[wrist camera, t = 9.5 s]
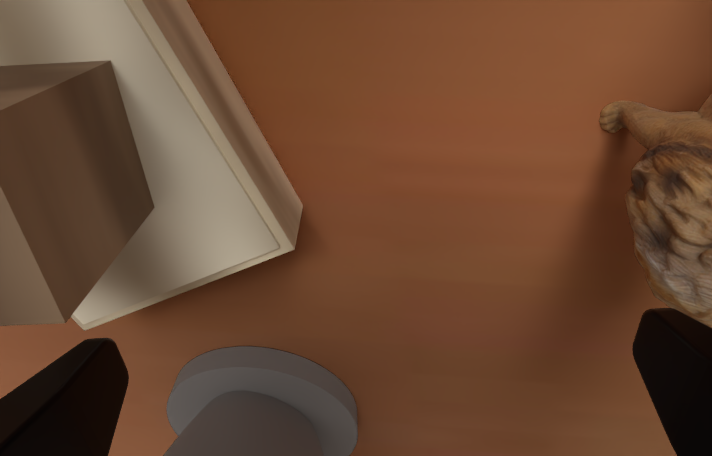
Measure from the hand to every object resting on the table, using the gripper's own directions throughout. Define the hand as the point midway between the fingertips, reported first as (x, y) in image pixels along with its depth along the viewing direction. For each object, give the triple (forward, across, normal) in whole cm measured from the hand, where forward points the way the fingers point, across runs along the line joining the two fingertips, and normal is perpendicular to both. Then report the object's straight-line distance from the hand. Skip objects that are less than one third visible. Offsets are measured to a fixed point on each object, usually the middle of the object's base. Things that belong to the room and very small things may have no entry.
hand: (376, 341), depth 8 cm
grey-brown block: (+9, +10, -1) cm, 13 cm away
